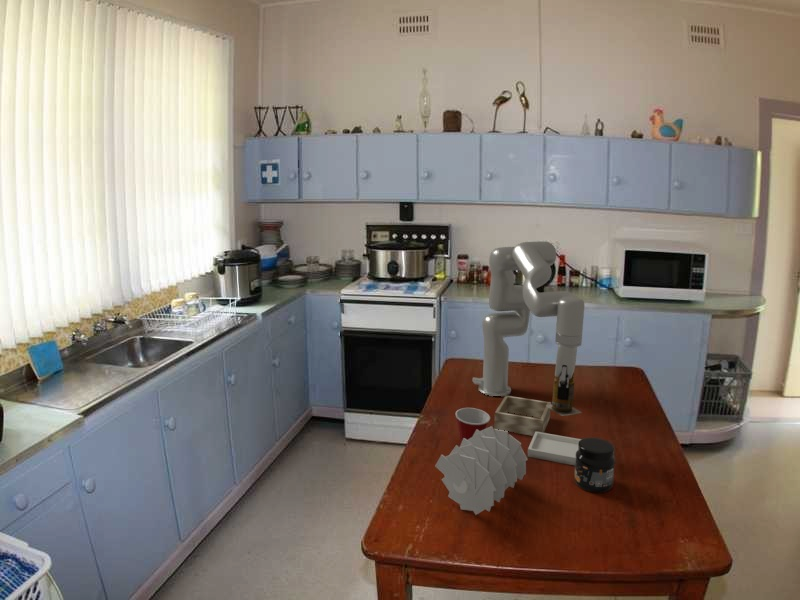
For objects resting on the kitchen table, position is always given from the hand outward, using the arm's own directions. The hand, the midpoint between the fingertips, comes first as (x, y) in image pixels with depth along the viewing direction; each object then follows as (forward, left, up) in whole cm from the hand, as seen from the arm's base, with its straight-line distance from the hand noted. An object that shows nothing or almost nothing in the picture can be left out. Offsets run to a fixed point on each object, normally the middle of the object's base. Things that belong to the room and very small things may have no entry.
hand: (564, 394), depth 178 cm
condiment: (0, -1, -5) cm, 5 cm away
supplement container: (+11, -15, -19) cm, 27 cm away
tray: (0, 0, -19) cm, 19 cm away
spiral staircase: (-16, -33, -19) cm, 42 cm away
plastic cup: (-26, -9, -19) cm, 34 cm away
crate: (-15, +16, -19) cm, 29 cm away
